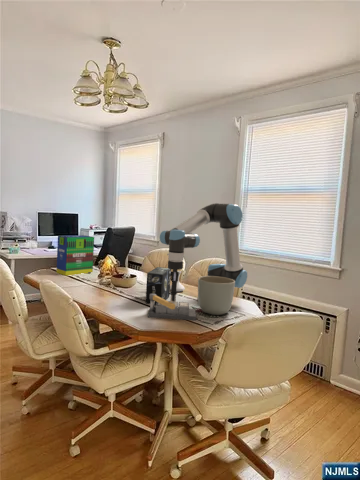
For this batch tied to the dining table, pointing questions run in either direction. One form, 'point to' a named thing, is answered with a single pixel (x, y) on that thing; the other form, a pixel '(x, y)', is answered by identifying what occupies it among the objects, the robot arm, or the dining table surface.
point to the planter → (215, 294)
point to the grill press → (172, 311)
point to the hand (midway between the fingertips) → (172, 306)
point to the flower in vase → (178, 284)
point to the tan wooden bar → (162, 301)
